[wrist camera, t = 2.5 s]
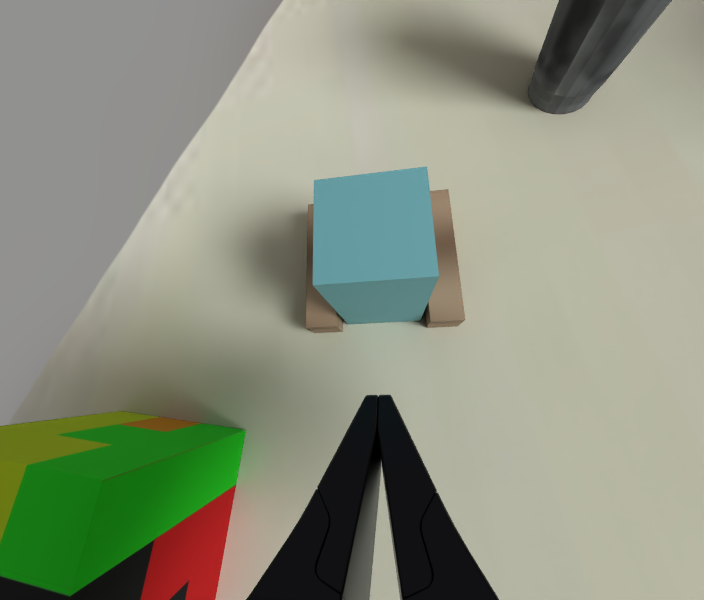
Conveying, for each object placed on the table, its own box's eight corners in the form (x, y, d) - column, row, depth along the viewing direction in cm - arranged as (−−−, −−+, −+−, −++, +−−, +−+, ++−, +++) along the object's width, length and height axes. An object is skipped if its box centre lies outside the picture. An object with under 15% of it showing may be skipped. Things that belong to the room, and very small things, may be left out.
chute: (457, 326, 19) (465, 319, 17) (315, 332, 20) (305, 327, 18) (443, 207, 22) (448, 189, 19) (316, 220, 23) (308, 204, 21)
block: (420, 320, 20) (439, 276, 11) (348, 324, 20) (312, 285, 12) (414, 253, 21) (426, 166, 12) (346, 258, 22) (314, 180, 13)
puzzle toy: (76, 572, 19) (-256, 775, 9) (121, 411, 21) (-103, 438, 12) (213, 609, 17) (-17, 905, 8) (246, 429, 20) (103, 480, 10)
